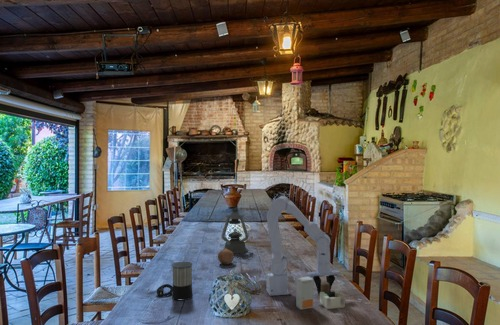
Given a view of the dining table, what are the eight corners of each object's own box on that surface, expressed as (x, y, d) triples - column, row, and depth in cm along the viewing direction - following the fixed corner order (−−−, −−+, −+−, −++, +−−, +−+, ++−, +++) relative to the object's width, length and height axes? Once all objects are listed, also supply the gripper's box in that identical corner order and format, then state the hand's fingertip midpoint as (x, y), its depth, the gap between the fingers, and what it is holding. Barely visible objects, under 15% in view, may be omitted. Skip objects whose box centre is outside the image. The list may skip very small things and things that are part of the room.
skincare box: (301, 310, 156) (301, 281, 156) (296, 306, 160) (295, 278, 160) (314, 307, 158) (313, 279, 158) (308, 304, 162) (308, 276, 162)
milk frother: (194, 299, 169) (193, 266, 168) (157, 303, 164) (157, 269, 164) (190, 288, 182) (189, 258, 182) (156, 292, 178) (155, 260, 178)
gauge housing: (319, 301, 165) (319, 291, 165) (337, 300, 166) (336, 290, 166) (326, 308, 157) (326, 298, 157) (344, 307, 159) (344, 296, 158)
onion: (225, 267, 227) (225, 250, 232) (237, 265, 222) (237, 248, 226) (214, 264, 221) (214, 247, 225) (226, 262, 215) (226, 245, 220)
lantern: (243, 245, 269) (243, 203, 269) (252, 252, 250) (252, 206, 250) (218, 247, 264) (218, 204, 263) (226, 254, 244) (225, 208, 244)
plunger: (322, 297, 167) (322, 287, 167) (330, 296, 168) (330, 286, 168) (328, 302, 161) (328, 292, 161) (336, 302, 161) (336, 292, 161)
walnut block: (320, 298, 169) (320, 284, 169) (317, 295, 173) (317, 281, 173) (329, 297, 170) (329, 284, 169) (326, 294, 173) (326, 281, 173)
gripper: (311, 265, 166) (311, 296, 166) (342, 263, 168) (342, 294, 168) (305, 261, 172) (305, 291, 173) (336, 259, 175) (336, 289, 175)
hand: (323, 292), depth 171 cm, fingers closed on walnut block, 4 cm apart
